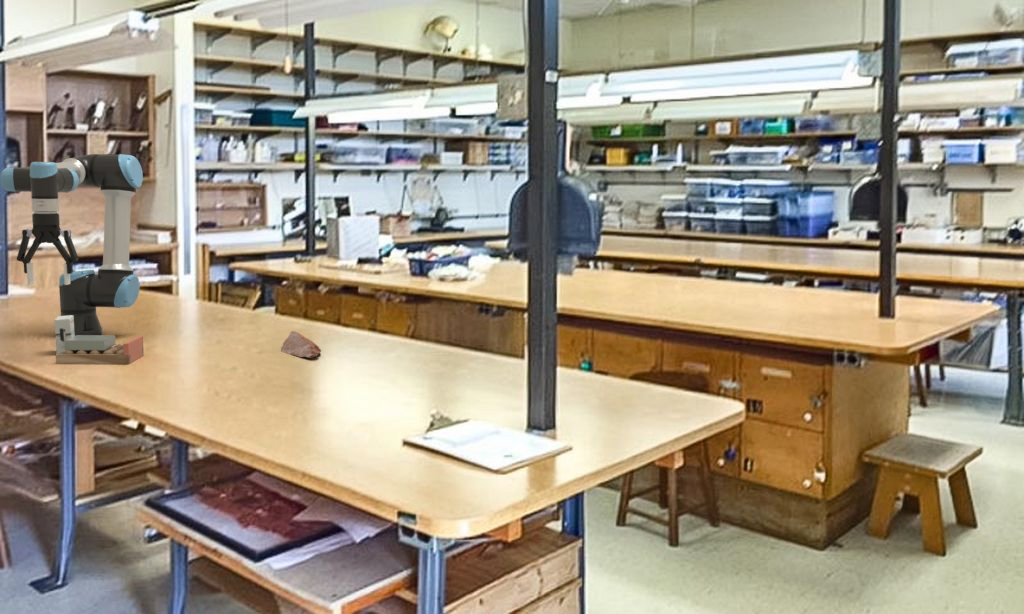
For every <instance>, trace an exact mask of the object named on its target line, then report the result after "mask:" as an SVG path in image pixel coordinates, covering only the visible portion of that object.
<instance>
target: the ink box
mask: <svg viewBox="0 0 1024 614" xmlns="http://www.w3.org/2000/svg"><path fill="white" fill-rule="evenodd" d="M54 334H55V348H56V354H63V352H64V351H66V350H65V342H64V340H67V339H69V338H71V337H74V336H75V333H74V316H73V315H68V316H61V315H60V316H59V315H58V316H57V317H56V318H55V319H54Z"/></svg>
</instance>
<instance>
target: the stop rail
mask: <svg viewBox="0 0 1024 614" xmlns="http://www.w3.org/2000/svg"><path fill="white" fill-rule="evenodd" d="M122 345H123V355H126V356H127V357H128V355H131V363H130V362H129V364H128V365H130V364H132V363H133V362H136V361H137V360H139V359H140V358H142V357H143V356H142V348H143V349H144V336H143V335H137V336H135V337H134V338H131V339H130V340H127V341H126V342H124V343H122ZM124 362H126V363H127V361H124Z"/></svg>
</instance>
